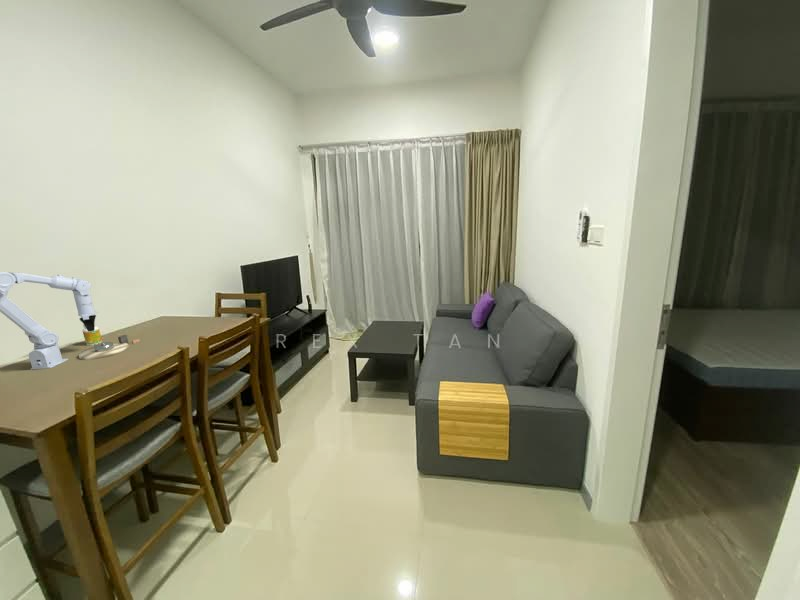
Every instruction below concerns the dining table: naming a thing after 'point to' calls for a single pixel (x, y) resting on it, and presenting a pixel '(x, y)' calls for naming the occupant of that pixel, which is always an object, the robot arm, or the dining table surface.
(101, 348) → the cover
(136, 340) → the peach rectangular brick
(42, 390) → the dining table surface
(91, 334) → the supplement bottle
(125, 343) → the turntable
